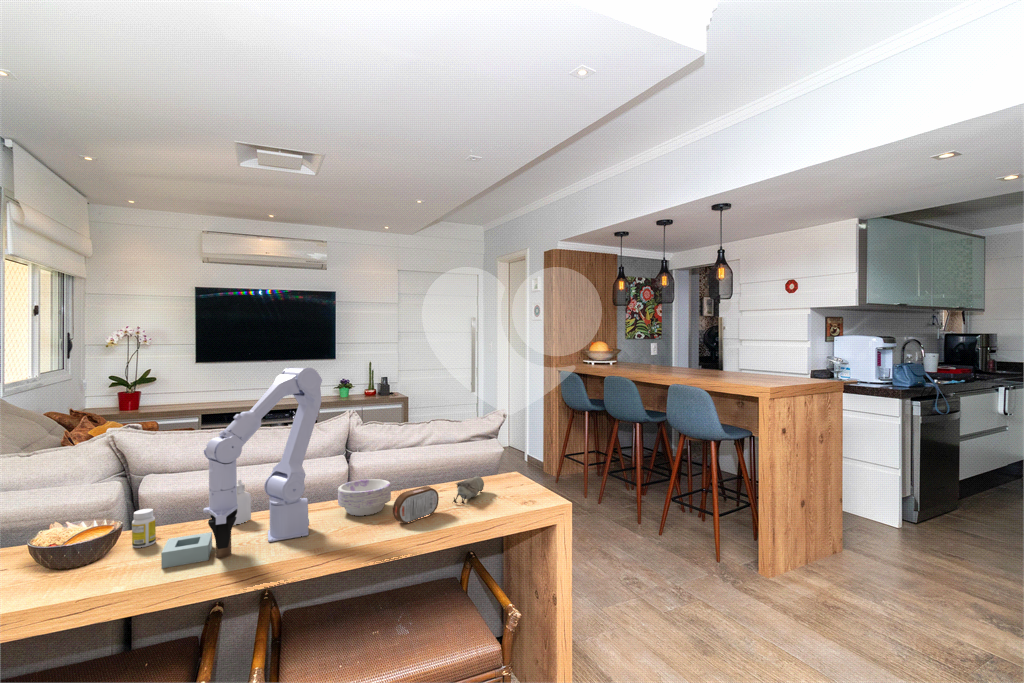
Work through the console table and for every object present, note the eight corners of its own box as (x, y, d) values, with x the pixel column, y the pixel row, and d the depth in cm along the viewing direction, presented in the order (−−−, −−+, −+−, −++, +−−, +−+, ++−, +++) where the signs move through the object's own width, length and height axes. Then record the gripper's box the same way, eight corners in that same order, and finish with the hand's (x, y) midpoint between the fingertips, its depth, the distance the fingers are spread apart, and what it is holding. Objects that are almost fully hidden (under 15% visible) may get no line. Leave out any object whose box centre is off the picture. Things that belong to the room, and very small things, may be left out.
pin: (231, 551, 120) (231, 518, 120) (231, 556, 117) (230, 522, 117) (216, 554, 119) (216, 520, 119) (215, 559, 116) (214, 524, 116)
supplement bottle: (152, 539, 128) (152, 506, 128) (158, 543, 125) (158, 510, 125) (129, 545, 124) (129, 511, 124) (135, 550, 121) (134, 515, 121)
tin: (433, 510, 148) (433, 482, 148) (440, 513, 146) (440, 484, 146) (391, 525, 136) (391, 494, 136) (398, 528, 134) (398, 497, 134)
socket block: (212, 546, 123) (211, 532, 123) (208, 560, 115) (208, 545, 115) (168, 553, 119) (168, 538, 119) (161, 568, 111) (161, 552, 111)
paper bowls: (364, 500, 158) (364, 475, 158) (401, 507, 151) (401, 481, 151) (326, 515, 145) (326, 488, 145) (365, 523, 138) (364, 495, 138)
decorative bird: (488, 493, 165) (488, 470, 165) (465, 508, 150) (465, 483, 150) (474, 491, 167) (473, 469, 167) (450, 506, 152) (449, 481, 152)
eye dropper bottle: (228, 522, 140) (227, 479, 140) (250, 518, 143) (250, 476, 143) (229, 526, 136) (228, 483, 136) (252, 522, 139) (251, 480, 139)
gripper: (206, 482, 123) (207, 537, 123) (199, 498, 110) (200, 560, 110) (239, 478, 126) (239, 532, 126) (236, 494, 113) (236, 553, 113)
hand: (223, 545), depth 118 cm, fingers closed on pin, 3 cm apart
